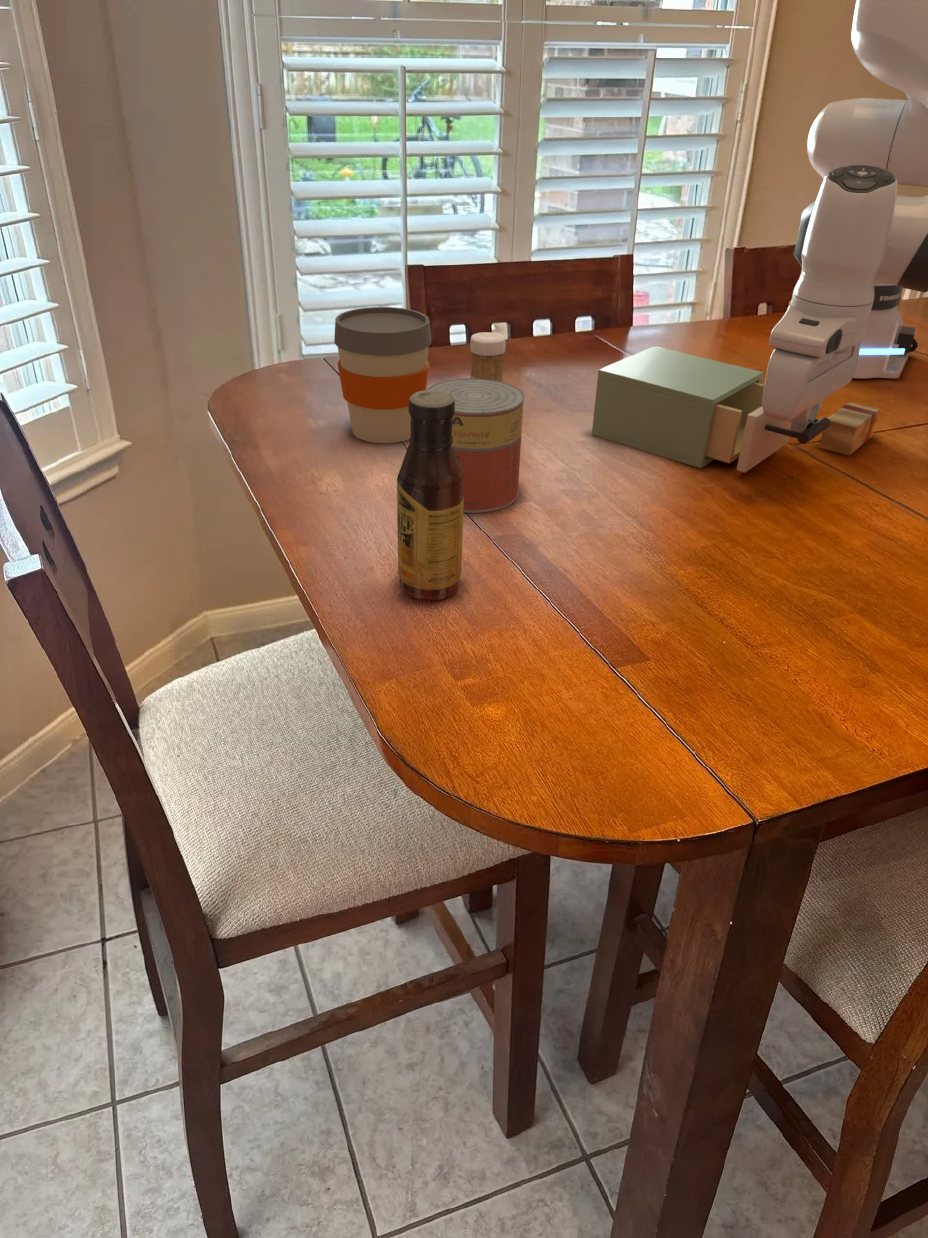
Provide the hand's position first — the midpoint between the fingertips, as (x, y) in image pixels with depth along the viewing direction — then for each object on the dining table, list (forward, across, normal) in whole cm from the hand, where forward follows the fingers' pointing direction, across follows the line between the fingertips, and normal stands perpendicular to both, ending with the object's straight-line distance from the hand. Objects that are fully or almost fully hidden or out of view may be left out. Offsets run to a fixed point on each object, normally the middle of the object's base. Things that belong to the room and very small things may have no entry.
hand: (799, 434), depth 114 cm
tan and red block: (+5, -15, +2) cm, 15 cm away
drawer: (+4, 0, -8) cm, 9 cm away
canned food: (+5, +32, -26) cm, 42 cm away
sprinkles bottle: (+5, +18, -36) cm, 41 cm away
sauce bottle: (+5, +52, -15) cm, 55 cm away
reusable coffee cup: (+5, +26, -47) cm, 54 cm away
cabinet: (+5, 0, -17) cm, 18 cm away
